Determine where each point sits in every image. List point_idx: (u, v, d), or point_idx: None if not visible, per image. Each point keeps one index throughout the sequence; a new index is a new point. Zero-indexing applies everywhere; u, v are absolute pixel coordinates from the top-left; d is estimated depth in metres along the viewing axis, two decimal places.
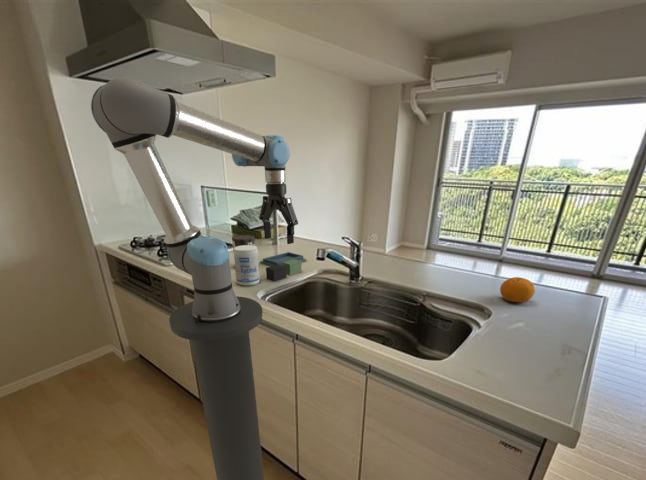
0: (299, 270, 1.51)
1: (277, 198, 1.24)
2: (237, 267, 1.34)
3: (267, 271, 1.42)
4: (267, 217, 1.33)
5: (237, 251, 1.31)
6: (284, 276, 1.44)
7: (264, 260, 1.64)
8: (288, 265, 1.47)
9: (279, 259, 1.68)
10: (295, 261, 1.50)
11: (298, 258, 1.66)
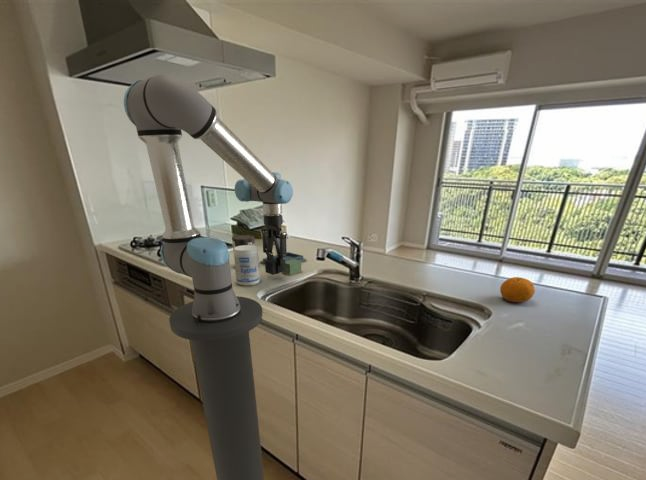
0: (299, 270, 1.51)
1: (274, 228, 1.34)
2: (237, 267, 1.34)
3: (266, 264, 1.41)
4: (269, 249, 1.41)
5: (237, 251, 1.31)
6: (283, 270, 1.43)
7: (264, 260, 1.64)
8: (288, 265, 1.47)
9: None
10: (295, 261, 1.50)
11: (298, 258, 1.66)
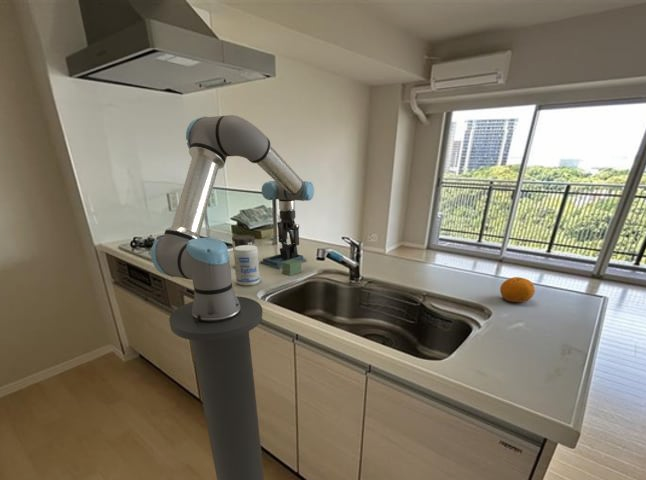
0: (299, 270, 1.51)
1: (288, 221, 1.60)
2: (237, 267, 1.34)
3: (281, 252, 1.66)
4: (284, 239, 1.67)
5: (237, 251, 1.31)
6: (296, 254, 1.68)
7: (264, 260, 1.64)
8: (288, 265, 1.47)
9: (279, 259, 1.68)
10: (295, 261, 1.50)
11: (298, 258, 1.66)
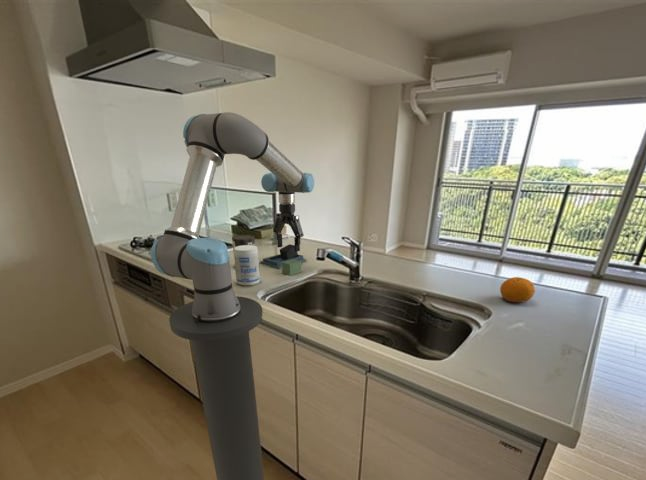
0: (299, 270, 1.51)
1: (288, 215, 1.58)
2: (237, 267, 1.34)
3: (281, 252, 1.66)
4: (279, 230, 1.67)
5: (237, 251, 1.31)
6: (296, 254, 1.68)
7: (264, 260, 1.64)
8: (288, 265, 1.47)
9: (279, 259, 1.68)
10: (295, 261, 1.50)
11: (298, 258, 1.66)
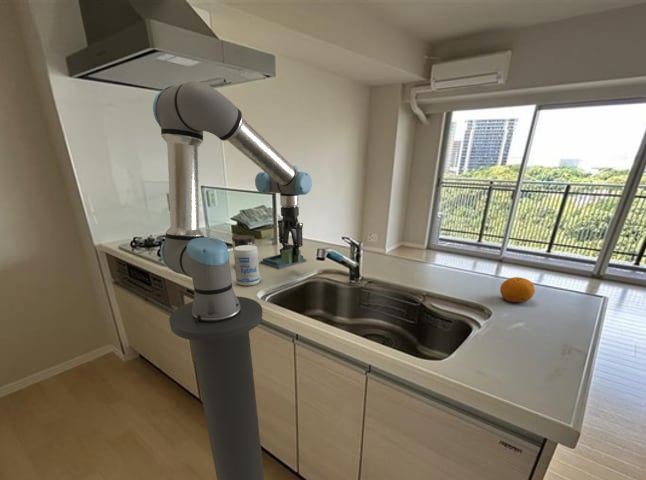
0: (298, 259, 1.49)
1: (290, 219, 1.40)
2: (237, 267, 1.34)
3: None
4: (286, 239, 1.47)
5: (237, 251, 1.31)
6: None
7: (264, 260, 1.64)
8: (287, 254, 1.44)
9: (279, 259, 1.68)
10: None
11: None
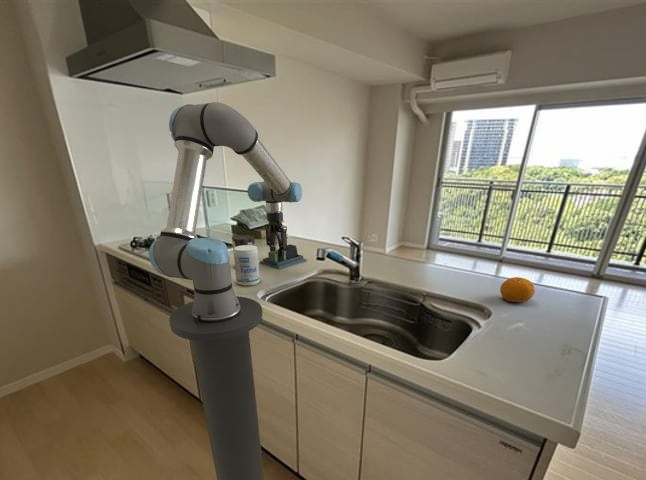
0: (284, 259, 1.64)
1: (275, 224, 1.55)
2: (237, 267, 1.34)
3: None
4: (272, 242, 1.62)
5: (237, 251, 1.31)
6: (296, 254, 1.68)
7: (264, 260, 1.64)
8: (273, 254, 1.59)
9: None
10: None
11: (298, 258, 1.66)
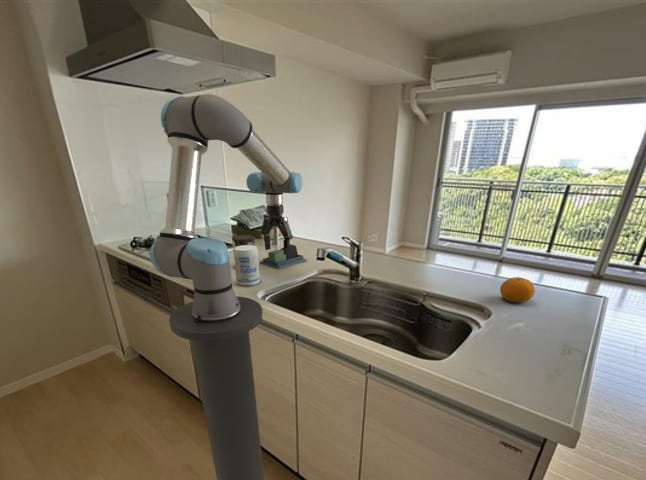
0: (284, 259, 1.64)
1: (276, 217, 1.50)
2: (237, 267, 1.34)
3: None
4: (267, 232, 1.59)
5: (237, 251, 1.31)
6: (296, 254, 1.68)
7: (264, 260, 1.64)
8: (273, 254, 1.59)
9: None
10: (280, 251, 1.62)
11: (298, 258, 1.66)
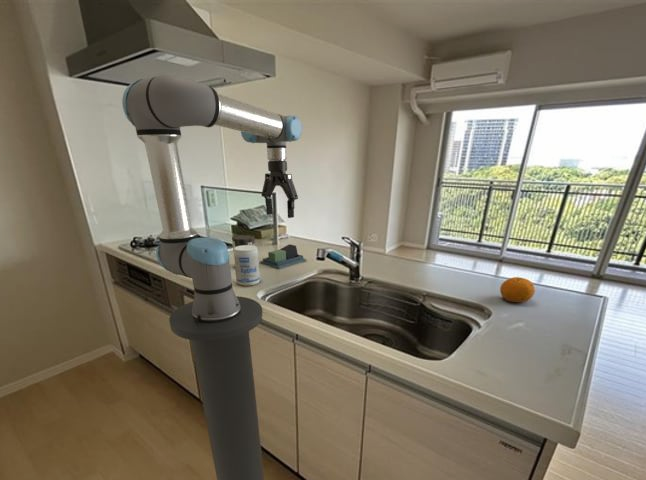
0: (284, 259, 1.64)
1: (278, 174, 1.33)
2: (237, 267, 1.34)
3: None
4: (269, 194, 1.42)
5: (237, 251, 1.31)
6: (296, 254, 1.68)
7: (264, 260, 1.64)
8: (273, 254, 1.59)
9: None
10: (280, 251, 1.62)
11: (298, 258, 1.66)
